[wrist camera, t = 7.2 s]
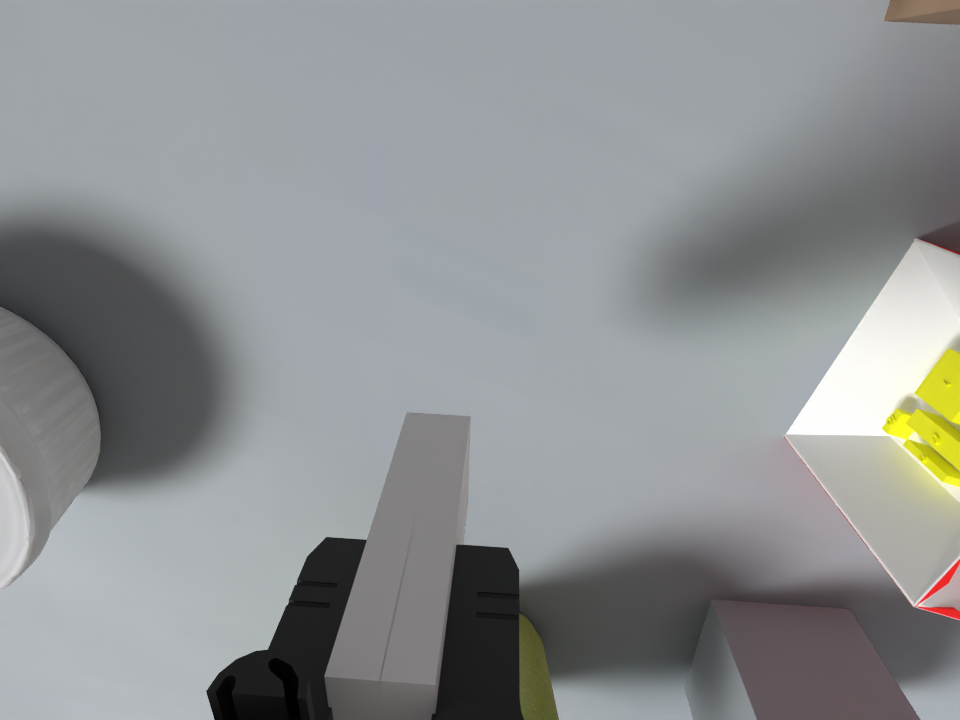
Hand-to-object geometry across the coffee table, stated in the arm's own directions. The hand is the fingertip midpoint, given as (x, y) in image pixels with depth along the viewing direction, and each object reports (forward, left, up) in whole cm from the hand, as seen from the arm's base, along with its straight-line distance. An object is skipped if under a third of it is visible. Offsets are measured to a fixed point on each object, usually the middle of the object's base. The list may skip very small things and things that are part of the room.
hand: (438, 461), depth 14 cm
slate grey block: (+15, +14, -7) cm, 22 cm away
